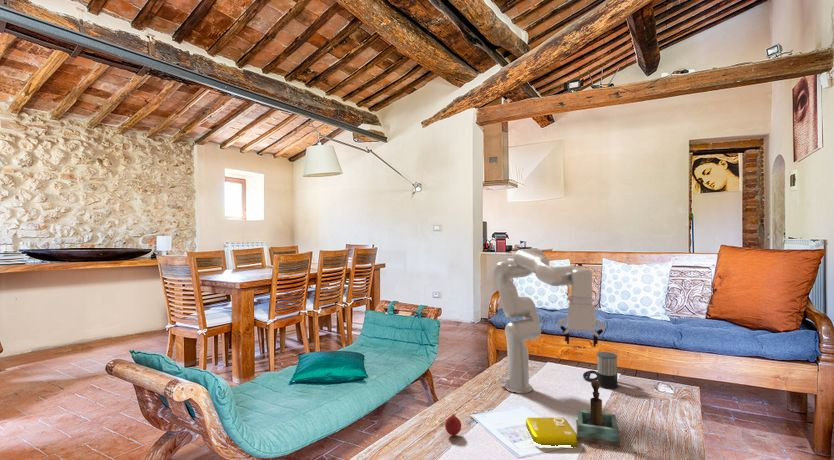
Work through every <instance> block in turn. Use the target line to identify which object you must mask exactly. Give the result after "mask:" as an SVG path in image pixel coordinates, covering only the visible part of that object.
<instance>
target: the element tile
mask: <svg viewBox="0 0 834 460" xmlns="http://www.w3.org/2000/svg"><path fill="white" fill-rule="evenodd" d="M568 421H569V420H567V419H566V418H564V417H527V418H526V419H525V428H526V427H527V429H528V431H529V433H530V435H531V437H532V439H533V441H534V442H536V443H538V444H541V445H551V446H555V445H556V446H558V445H571V447H573V448H572V449H575V448H574V447H577V448H578V441H577V431H575V430H574V428H573V427H572V425H571V424H570V422H568Z"/></svg>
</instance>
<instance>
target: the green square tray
mask: <svg viewBox="0 0 834 460" xmlns="http://www.w3.org/2000/svg"><path fill="white" fill-rule="evenodd" d="M589 420H591V410H590V411H588V410H583V409H582V410H580V409H577V419H576V422H575V423H576V428H575V429H576V434H577V442H579V441H580V442H581V443H586V444H592V445H593V444H594V445H601V446H607V447H614V448H619V449H621V448H622V442H621V437H620V430H619V426H618V422H617V416H616V414H615V413H614V414H613V413H604V412H602V420H603V422H604V423H605V424H606V425H607V427H603V426H595V425H588V424H587V422H588V421H589Z"/></svg>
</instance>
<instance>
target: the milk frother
mask: <svg viewBox="0 0 834 460" xmlns="http://www.w3.org/2000/svg"><path fill="white" fill-rule="evenodd" d="M596 356H597V357H596V358H597V371H596V370H588V371H585V372H584V373H583V374H582V377H583V379H584V380H585V381H589V382H592V381H593V380H597V381H599V382H600V388H603V389H606V390H615V389H618V388H619V382H618V354H616V353H614V352H608V351H599V352H597V353H596ZM591 374H594V375H595V376H596V377H594V378H593V377H592V378H590V377H591Z"/></svg>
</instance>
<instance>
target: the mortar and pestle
mask: <svg viewBox="0 0 834 460" xmlns="http://www.w3.org/2000/svg"><path fill="white" fill-rule="evenodd" d="M590 382H591V388H592V389H593V392H592V397H590V401H589V402H590V412H591V420H589V421H588V422H587V424H588V425H595V426H603V427H607V425H606V424H605V423H604V422H603V420H602V413H603V400H602V399H601V398H600V392H599V389H600V388H601V387H600V382H599V381H598V380H593V381H590Z"/></svg>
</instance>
